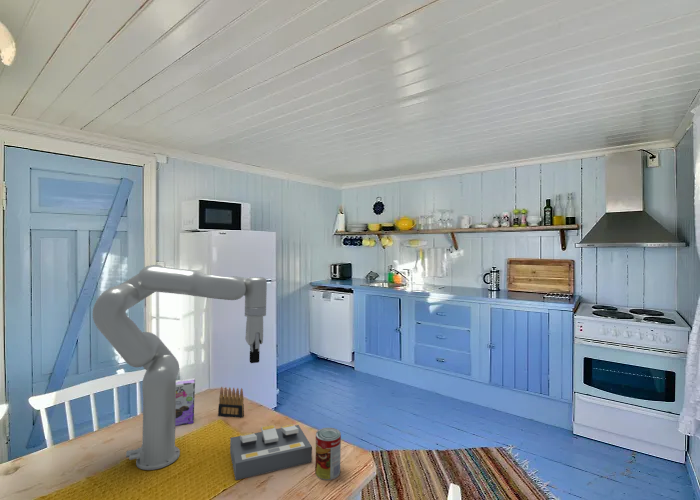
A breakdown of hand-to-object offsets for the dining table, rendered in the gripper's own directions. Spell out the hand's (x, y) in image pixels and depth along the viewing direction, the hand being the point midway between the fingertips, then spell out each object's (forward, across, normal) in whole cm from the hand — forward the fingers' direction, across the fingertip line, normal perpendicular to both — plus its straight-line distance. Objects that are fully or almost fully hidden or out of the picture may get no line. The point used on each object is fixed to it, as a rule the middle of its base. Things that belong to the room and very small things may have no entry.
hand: (254, 362), depth 126 cm
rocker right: (+23, +10, +11) cm, 27 cm away
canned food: (+29, +26, +19) cm, 44 cm away
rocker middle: (+23, +10, +4) cm, 25 cm away
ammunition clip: (+29, -25, -5) cm, 39 cm away
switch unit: (+29, +11, +4) cm, 31 cm away
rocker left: (+23, +10, -3) cm, 25 cm away
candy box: (+29, -27, -26) cm, 48 cm away
